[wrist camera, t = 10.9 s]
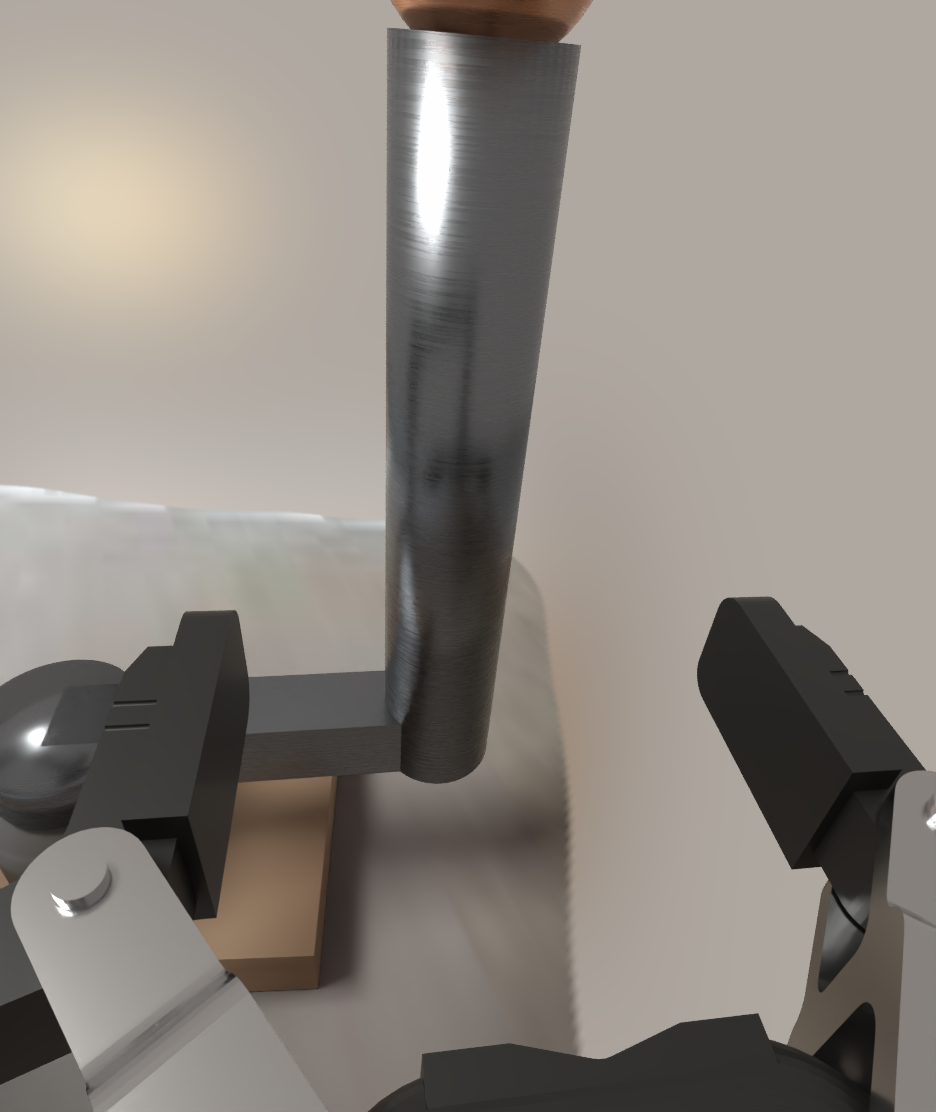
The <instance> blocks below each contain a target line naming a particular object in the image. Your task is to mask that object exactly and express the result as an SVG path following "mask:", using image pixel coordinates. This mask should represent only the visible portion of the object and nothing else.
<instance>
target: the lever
mask: <svg viewBox="0 0 936 1112" xmlns="http://www.w3.org/2000/svg"><path fill="white" fill-rule="evenodd" d="M592 1H593V0H391V2H392V4H393V5H394V7H395V8H396V10H397V11H398V13H399V15H400V16H401V18H402V19H403V20H404V21H405V23H406V24H407V25H408V26H409V28H410V29H411V30H409V29H397V28H387V273H386V279H387V280H386V289H387V290H386V296H387V298H386V592H385V671H368V672H348V673H327V674H307V675H286V676H266V677H248V678H249V692H250V701H249V716H248V723H247V730H246V736H245V742H244V748H243V755H242V761H241V767H240V774H239V780H238V783H243V782H257V781H271V780H285V779H299V778H313V777H327V776H341V775H355V774H369V773H383V772H397V771H401V772H402V773H403V774H405V775H406V776H408V777H410V778H412V779H415V780H418V781H421V782H425V783H434V784H438V783H448V782H452V781H456V780H458V779H461V778H463V777H465V776H467V775H468V774H470V773H471V772H472V771H473V770H474V769H476V768H477V766H478V765H479V764H480V762H481V761H482V759H483V757H484V754H485V750H486V744H487V737H488V730H489V722H490V715H491V708H492V700H493V693H494V685H495V678H496V671H497V663H498V656H499V648H500V641H501V634H502V626H503V619H504V612H505V604H506V597H507V589H508V582H509V575H510V567H511V560H512V552H513V545H514V537H515V530H516V523H517V515H518V508H519V501H520V492H521V486H522V478H523V470H524V464H525V456H526V449H527V441H528V434H529V427H530V419H531V411H532V405H533V396H534V390H535V383H536V375H537V368H538V360H539V353H540V346H541V338H542V331H543V323H544V316H545V309H546V301H547V294H548V287H549V279H550V272H551V264H552V257H553V249H554V242H555V235H556V227H557V220H558V212H559V205H560V198H561V190H562V183H563V176H564V168H565V160H566V154H567V146H568V139H569V131H570V124H571V116H572V109H573V102H574V94H575V87H576V79H577V72H578V65H579V57H580V50H581V45H574V44H565V43H558V42H559V41H560V40H561V39H562V38H564V37H565V36H566V35H567V34H568V33H569V32H570V30H572V28H573V27H574V26H575V25H576V24H577V23H578V22H579V20H580V19H581V17H582V16H583V15H584V13H585V12H586V10H587V9H588V8H589V6H590V5H591V3H592ZM123 674H124V671H123V670H121V669H120V668H118V667H116V666H114V665H111V664H108V663H105V662H100V661H94V660H70V661H62V662H56V663H52V664H48V665H45V666H41V667H38V668H35V669H33V670H30V671H28V672H25V673H23V674H21V675H19V676H17V677H15V678H13V679H11V680H10V681H8V682H6V683H5V684H3V685H2V686H0V817H1V818H2V819H4V820H5V821H7V822H9V823H10V824H13V825H15V826H18V827H22V828H26V829H34V830H50V829H58V828H63V827H67V826H68V824H69V822H70V819H71V816H72V814H73V811H74V808H75V805H76V803H77V800H78V797H79V794H80V792H81V789H82V786H83V783H84V781H85V778H86V775H87V773H88V770H89V767H90V764H91V762H92V759H93V756H94V753H95V751H96V748H97V745H98V742H99V740H100V737H101V734H102V732H104V731H105V723H106V721H107V718H108V715H109V712H110V710H111V707H113V706H114V702H113V701H114V699H115V696H116V693H117V690H118V688H119V685H120V682H121V679H122V677H123Z"/></svg>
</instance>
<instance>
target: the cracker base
mask: <svg viewBox="0 0 936 1112" xmlns="http://www.w3.org/2000/svg"><path fill="white" fill-rule="evenodd" d="M337 780H338V776H327V777H313V778H299V779H285V780H271V781H257V782H243V783H238V786H237V792H236V799H235V805H234V811H233V818H232V824H231V830H230V837H229V843H228V849H227V855H226V862H225V868H224V874H223V881H222V887H221V893H220V900H219V906H218V912H217V918H211V919H200V920H193V922H194V924H195V925H196V927H197V928H198V930H199V931H200V933H201V934H202V936H203V937H204V939H205V940H206V942H207V944H208V945H209V947H210V948H211V950H212V951H213V953H214V954H215V956H216V957H217V959H218V960H219V962H220V963H221V965H222V966H223V967H224V969H225V970H226V971H227V972H228V973H233V974H235V975H236V976H237V977H238V979H239V980H240V981H241V982H242V983H243V985H244V986H245V987H246V989H247V990H248V991H249V992H252V991H275V990H298V989H318V983H319V972H320V962H321V951H322V940H323V930H324V919H325V908H326V897H327V887H328V876H329V865H330V855H331V844H332V833H333V823H334V812H335V801H336V791H337ZM66 829H67V827H63V828H58V829H50V830H34V829H26V828H22V827H18V826H15V825H13V824H10V823H9V822H7V821H5V820H4V819H2V818H1V817H0V889H1V888H3V887H5V886H7V885H9V884H11V883H12V882H14V881H16V880H18V879H19V878H21V876H22V874H23V873H24V872H25V870H26V869H27V868H28V866H29V865H30V864H31V863H32V862H33V861H34V860H35V859H36V858H37V857H38V856H39V855H40V854H41V853H42V852H43V851H45V850H46V849H47V848H48V847H50V846H51V845H53V844H54V843H56V842H57V841H59V840H60V839H61V838H62V836H63V835H64V833H65V831H66Z"/></svg>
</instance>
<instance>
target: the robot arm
mask: <svg viewBox="0 0 936 1112" xmlns="http://www.w3.org/2000/svg"><path fill="white" fill-rule="evenodd" d="M697 679H698V686H699V690H700V693H701V696H702V698H703V700H704V702H705V704H706V706H707V708H708V710H709V712H710V714H711V715H712V717H713V719H714V721H715V723H716V725H717V727H718V729H719V731H720V733H721V735H722V737H723V739H724V741H725V742H726V744H727V746H728V748H729V750H730V752H731V754H732V756H733V758H734V760H735V761H736V764H737V765H738V767H739V769H740V771H741V773H742V775H743V777H744V779H745V781H746V783H747V785H748V787H749V788H750V790H751V792H752V794H753V796H754V798H755V800H756V802H757V804H758V806H759V808H760V810H761V811H762V813H763V815H764V817H765V819H766V821H767V823H768V825H769V827H770V828H771V831H772V832H773V834H774V836H775V838H776V840H777V842H778V844H779V846H780V848H781V850H782V852H783V854H784V855H785V857H786V859H787V861H788V863H789V865H790V867H791V869H802V868H813V867H822V869H823V871H824V872H825V874H826V876H827V878H828V879H829V880H828V881H827V883H826V884H825V886H824V888H823V890H822V894H821V899H820V905H819V911H818V917H817V924H816V930H815V936H814V942H813V948H812V955H811V961H810V967H809V973H808V979H807V986H806V992H805V997H804V1002H803V1005H802V1009H801V1012H800V1014H799V1017H798V1020H797V1022H796V1024H795V1026H794V1028H793V1030H792V1033H791V1035H790V1039H789V1041H788V1044H787V1045H785V1044H782V1043H779V1042H776V1041H772V1040H769V1039H768V1036H767V1034H766V1031H765V1029H764V1026H763V1024H762V1022H761V1019H760V1017H759V1014H749V1015H741V1016H733V1017H724V1018H716V1019H708V1020H699V1021H691V1022H683V1023H679V1024H677V1025H675V1026H673V1027H671V1028H669V1029H666V1030H664V1031H662V1032H660V1033H658V1034H656V1035H654V1036H652V1037H650V1038H648V1039H646V1040H644V1041H642V1042H640V1043H638V1044H636V1045H634V1046H632V1047H630V1048H628V1049H626V1050H624V1051H622V1052H620V1053H617V1054H615V1055H613V1056H611V1057H609V1058H606V1059H591V1058H586V1057H581V1056H575V1055H570V1054H564V1053H559V1052H553V1051H548V1050H542V1049H537V1048H532V1047H526V1046H521V1045H515V1044H510V1043H509V1044H500V1045H492V1046H484V1047H476V1048H467V1049H459V1050H451V1051H442V1052H434V1053H426V1054H422V1064H421V1076H420V1078H419V1079H417V1080H415V1081H413V1082H411V1083H409V1084H407V1085H405V1086H402V1087H401V1088H399V1089H398V1090H396V1091H395V1092H393V1093H391V1094H390V1095H388V1096H387V1097H385V1098H384V1099H382V1100H381V1101H380V1102H379V1103H377V1104H376V1105H375V1106H374V1107H373V1108H372V1109H370V1110H369V1111H368V1112H936V772H932V771H926V770H925V768H924V767H923V766H922V765H921V763H920V762H919V761H918V760H917V758H916V757H915V756H914V754H913V753H912V752H911V750H910V749H909V748H908V747H907V745H906V744H905V743H904V742H903V740H902V739H901V738H900V736H899V735H898V734H897V733H896V731H895V730H894V729H893V727H892V726H891V725H890V723H889V722H888V721H887V720H886V718H885V717H884V716H883V715H882V713H881V712H880V711H879V709H878V708H877V707H876V705H875V704H874V703H873V701H872V700H871V699H870V698H869V696H868V695H864V693H863V689H862V687H861V686H860V685H859V683H858V682H857V681H856V679H855V678H854V677H853V676H852V675H849V674H848V669H847V668H846V667H845V665H844V664H843V663H842V661H841V660H840V659H839V658H838V656H837V655H836V654H835V652H834V651H833V650H832V649H831V647H830V646H829V645H827V644H826V643H825V642H823V641H822V640H821V639H820V638H818V637H817V636H816V635H814V634H813V633H811V632H810V631H809V630H807V629H806V628H805V627H803V626H795V625H794V623H793V622H792V620H791V619H790V618H789V616H788V615H787V614H786V612H785V611H784V610H783V608H782V607H781V606H780V604H779V603H778V602H777V601H776V600H775V599H774V598H772V597H739V598H726V599H724V600H723V601H722V602H721V604H720V606H719V608H718V610H717V613H716V616H715V618H714V621H713V624H712V627H711V629H710V632H709V635H708V638H707V640H706V643H705V646H704V648H703V651H702V654H701V657H700V659H699V662H698V668H697ZM249 701H250V692H249V678H248V672H247V666H246V660H245V653H244V647H243V641H242V635H241V629H240V622H239V617H238V614H237V612H236V611H235V610H225V611H190V612H185V613H184V614H183V616H182V619H181V622H180V625H179V629H178V632H177V635H176V639H175V642H174V645H173V646H154V647H147V648H146V649H145V650H144V652H143V653H142V654H141V655H140V656H139V657H138V658H137V659H136V660H135V661H134V662H133V663H132V664H131V666H130V667H129V668H128V669H127V670H126V671H125V672H124V674H123V677H122V679H121V682H120V685H119V688H118V690H117V693H116V696H115V699H114V701H113V702H114V706H113V707H111V710H110V712H109V715H108V718H107V721H106V723H105V731H104V732H102V734H101V737H100V740H99V742H98V745H97V748H96V751H95V753H94V756H93V759H92V762H91V764H90V767H89V770H88V773H87V775H86V778H85V781H84V783H83V786H82V789H81V792H80V794H79V797H78V800H77V803H76V805H75V808H74V811H73V814H72V816H71V819H70V822H69V824H68V826H67V829H66V831H65V833H64V835H63V836H62V838H61V839H60V840H59V841H57V842H56V843H54V844H53V845H51V846H50V847H48V848H47V849H46V850H45V851H43V852H42V853H41V854H40V855H39V856H38V857H37V858H36V859H35V860H34V861H33V862H32V863H31V864H30V865H29V866H28V868H27V869H26V870H25V872H24V873H23V874H22V876H21V878H19V879H18V880H16V881H14V882H12V883H11V884H9V885H7V886H5V887H3V888H1V889H0V1085H1V1084H3V1083H5V1082H7V1081H9V1080H12V1079H14V1078H16V1077H18V1076H20V1075H23V1074H25V1073H27V1072H29V1071H31V1070H33V1069H36V1068H38V1067H40V1066H42V1065H44V1064H47V1063H49V1062H51V1061H53V1060H55V1059H58V1058H60V1057H62V1056H64V1055H66V1054H69V1053H71V1052H72V1053H73V1055H74V1057H75V1059H76V1061H77V1064H78V1066H79V1068H80V1070H81V1073H82V1075H83V1077H84V1080H85V1082H86V1086H87V1087H86V1091H87V1094H88V1097H89V1100H90V1103H91V1105H92V1108H93V1110H94V1112H328V1111H327V1109H326V1108H325V1106H324V1105H323V1103H322V1102H321V1100H320V1099H319V1097H318V1096H317V1094H316V1093H315V1091H314V1089H313V1088H312V1086H311V1085H310V1083H309V1082H308V1080H307V1079H306V1077H305V1076H304V1074H303V1073H302V1071H301V1070H300V1068H299V1067H298V1065H297V1064H296V1062H295V1061H294V1059H293V1058H292V1056H291V1055H290V1053H289V1052H288V1050H287V1049H286V1047H285V1046H284V1044H283V1043H282V1041H281V1040H280V1038H279V1036H278V1035H277V1033H276V1032H275V1030H274V1029H273V1027H272V1026H271V1024H270V1023H269V1021H268V1020H267V1018H266V1017H265V1015H264V1014H263V1012H262V1011H261V1009H260V1008H259V1006H258V1005H257V1003H256V1002H255V1000H254V999H253V997H252V996H251V994H250V993H249V991H248V990H247V989H246V987H245V986H244V985H243V983H242V982H241V981H240V980H239V979H238V977H237V976H236V975H235V974H233V973H228V972H227V971H226V970H225V969H224V967H223V966H222V965H221V963H220V962H219V960H218V959H217V957H216V956H215V954H214V953H213V951H212V950H211V948H210V947H209V945H208V944H207V942H206V940H205V939H204V937H203V936H202V934H201V933H200V931H199V930H198V928H197V927H196V925H195V924H194V922H193V920H200V919H211V918H217V912H218V906H219V900H220V893H221V887H222V881H223V874H224V868H225V862H226V855H227V849H228V843H229V837H230V830H231V824H232V818H233V811H234V805H235V799H236V792H237V786H238V780H239V774H240V767H241V761H242V755H243V748H244V742H245V736H246V730H247V723H248V716H249Z"/></svg>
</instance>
